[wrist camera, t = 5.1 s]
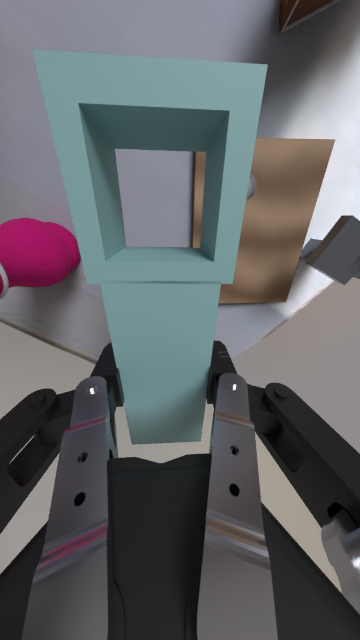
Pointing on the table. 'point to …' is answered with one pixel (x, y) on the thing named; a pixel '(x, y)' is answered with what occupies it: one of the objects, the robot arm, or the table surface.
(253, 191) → the capsule
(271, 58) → the table surface
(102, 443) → the robot arm
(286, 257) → the board
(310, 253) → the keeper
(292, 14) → the food container
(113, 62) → the teal bar with hole
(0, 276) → the pepper mill
